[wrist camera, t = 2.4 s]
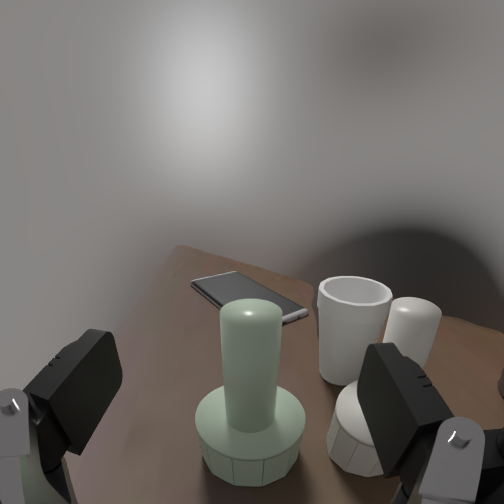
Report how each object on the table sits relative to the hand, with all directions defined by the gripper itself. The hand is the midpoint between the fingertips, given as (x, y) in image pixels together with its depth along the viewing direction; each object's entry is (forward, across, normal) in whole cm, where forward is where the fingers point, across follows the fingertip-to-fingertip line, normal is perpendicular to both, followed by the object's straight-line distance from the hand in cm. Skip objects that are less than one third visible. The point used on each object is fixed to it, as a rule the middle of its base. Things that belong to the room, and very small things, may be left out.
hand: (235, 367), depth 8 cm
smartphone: (+50, +3, +21) cm, 55 cm away
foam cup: (+25, -13, +21) cm, 35 cm away
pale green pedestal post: (+12, 0, +21) cm, 24 cm away
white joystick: (+12, -13, +21) cm, 27 cm away
